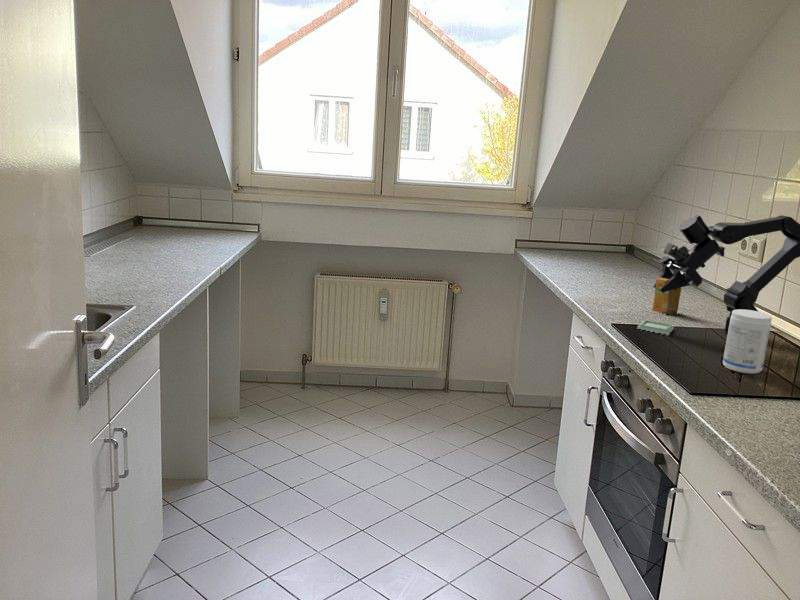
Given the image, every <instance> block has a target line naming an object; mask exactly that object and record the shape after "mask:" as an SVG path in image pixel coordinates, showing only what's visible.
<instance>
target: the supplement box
mask: <svg viewBox="0 0 800 600" xmlns="http://www.w3.org/2000/svg"><path fill="white" fill-rule="evenodd" d="M669 280H670V279H665V278H659V277H658V278H656V282H655V283H656V288H654V298H653V304H652V312H656V313H657V312H658V313H659V312H660V313H659V314H661V313H663V312H666V311H667V303H668V295H669V291H666V292H661V291H660V289H661V288H662V287H663V286H664V285H665V284H666V283H667V282H668V281H669Z"/></svg>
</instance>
